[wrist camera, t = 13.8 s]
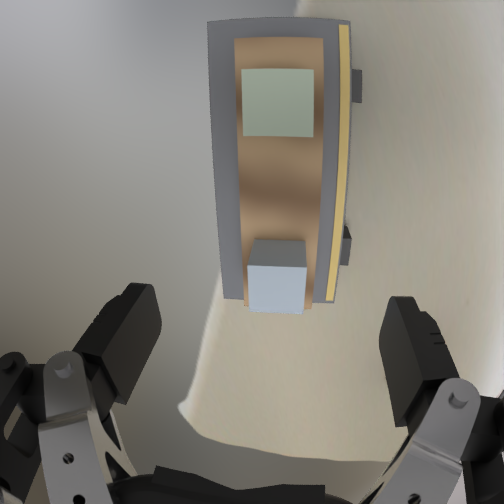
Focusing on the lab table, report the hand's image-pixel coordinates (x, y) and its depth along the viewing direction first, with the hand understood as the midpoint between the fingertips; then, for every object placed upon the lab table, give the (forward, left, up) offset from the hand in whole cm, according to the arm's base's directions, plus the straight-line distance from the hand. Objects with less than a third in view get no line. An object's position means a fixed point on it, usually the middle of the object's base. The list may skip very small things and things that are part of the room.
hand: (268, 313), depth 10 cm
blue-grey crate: (+6, 0, -14) cm, 15 cm away
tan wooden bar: (0, 0, -19) cm, 19 cm away
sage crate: (-6, 0, -14) cm, 15 cm away
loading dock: (0, 0, -23) cm, 23 cm away
